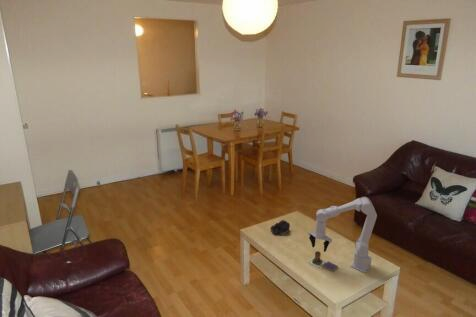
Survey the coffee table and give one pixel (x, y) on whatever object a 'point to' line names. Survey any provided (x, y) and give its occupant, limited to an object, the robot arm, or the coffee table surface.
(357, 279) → the coffee table surface
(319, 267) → the sheet
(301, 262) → the coffee table surface
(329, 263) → the ink pad
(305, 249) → the coffee table surface
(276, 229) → the crystal cluster
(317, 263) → the stamp
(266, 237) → the coffee table surface
